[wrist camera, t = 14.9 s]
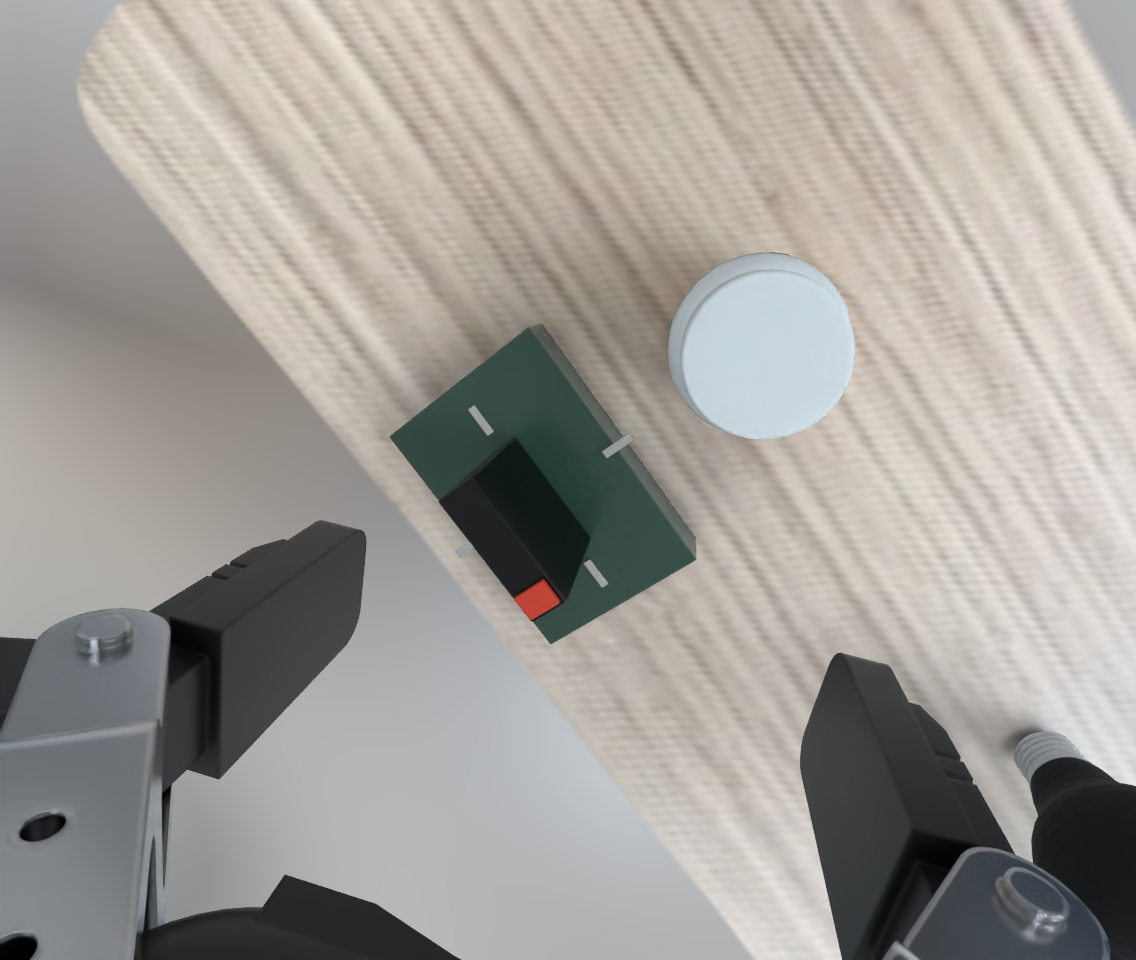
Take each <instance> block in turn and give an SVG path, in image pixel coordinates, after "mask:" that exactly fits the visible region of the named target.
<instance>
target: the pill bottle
mask: <svg viewBox="0 0 1136 960" xmlns="http://www.w3.org/2000/svg"><path fill="white" fill-rule="evenodd" d="M854 360H855V340H854V334H853V330H852V326H851V321H850V317H849V313H848V310H847V307H846V304H845V302H844V300H843V298H842V296H841V294H840V292H839V290H838V289H837V287H836V285H835V284H834V283H833V282H832V281H831V280H830V279H829V278H828V277H827V276H826V275H825V274H824V273H822V272H821V271H820V270H818V269H817V268H815V267H814V266H812V265H810V264H809V263H807V262H805V261H803V260H801V259H799V258H796V257H793V256H790V255H787V254H782V253H773V252H771V253H756V254H749V255H745V256H741V257H737V258H734V259H732V260H729V261H727V262H724V263H723V264H721V265H719V266H717V267H716V268H715V269H713V270H712V271H710V272H709V273H708V274H706V275H705V276H704V277H702V278H701V279H700V280H699V281H698V282H697V283H696V284H695V285H694V286H693V287H692V288H691V290H690V291H689V292H688V293H687V295H686V296H685V298H684V299H683V301H682V302H681V304H680V306H679V307H678V310H677V312H676V314H675V316H674V319H673V321H672V325H671V329H670V333H669V340H668V363H669V368H670V372H671V375H672V378H673V381H674V384H675V386H676V388H677V390H678V392H679V394H680V396H681V398H682V399H683V401H684V402H685V403H686V405H687V406H688V407H689V408H690V409H691V410H692V411H693V412H694V413H695V414H696V415H697V416H698V417H700V418H701V419H703V420H704V421H706V422H707V423H709V424H710V425H713V426H715V427H717V428H719V429H721V430H724V431H726V432H728V433H730V434H733V435H736V436H739V437H743V438H748V439H756V440H768V439H776V438H781V437H786V436H789V435H792V434H795V433H798V432H800V431H802V430H804V429H806V428H808V427H810V426H811V425H813V424H814V423H816V422H817V421H819V420H820V419H821V418H823V417H824V416H825V415H826V414H827V413H828V412H829V411H830V410H831V409H832V408H833V406H834V405H835V404H836V403H837V402H838V400H839V399H840V397H841V396H842V394H843V392H844V391H845V389H846V387H847V385H848V382H849V380H850V377H851V373H852V370H853V366H854Z"/></svg>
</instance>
